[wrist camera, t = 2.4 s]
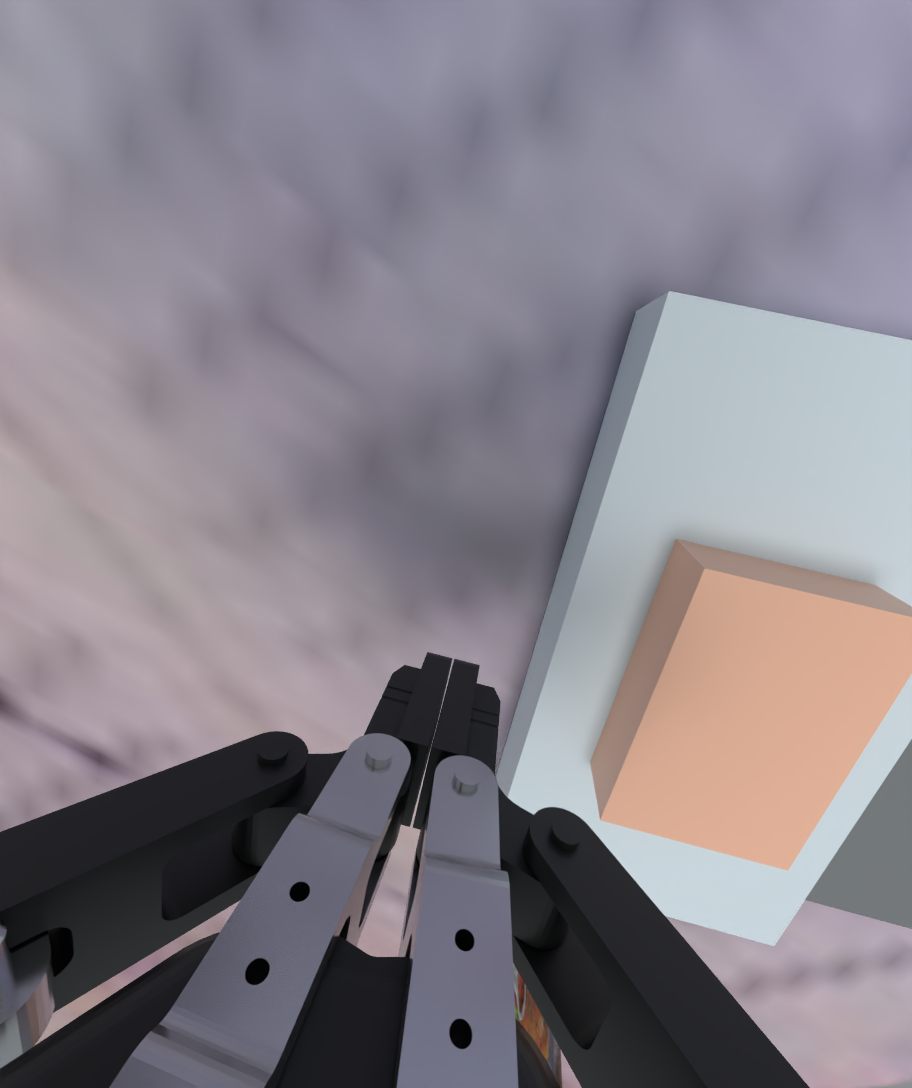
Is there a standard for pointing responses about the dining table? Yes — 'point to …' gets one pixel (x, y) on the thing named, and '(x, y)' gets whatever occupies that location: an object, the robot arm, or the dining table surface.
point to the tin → (536, 1025)
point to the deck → (729, 524)
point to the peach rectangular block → (748, 702)
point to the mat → (876, 855)
